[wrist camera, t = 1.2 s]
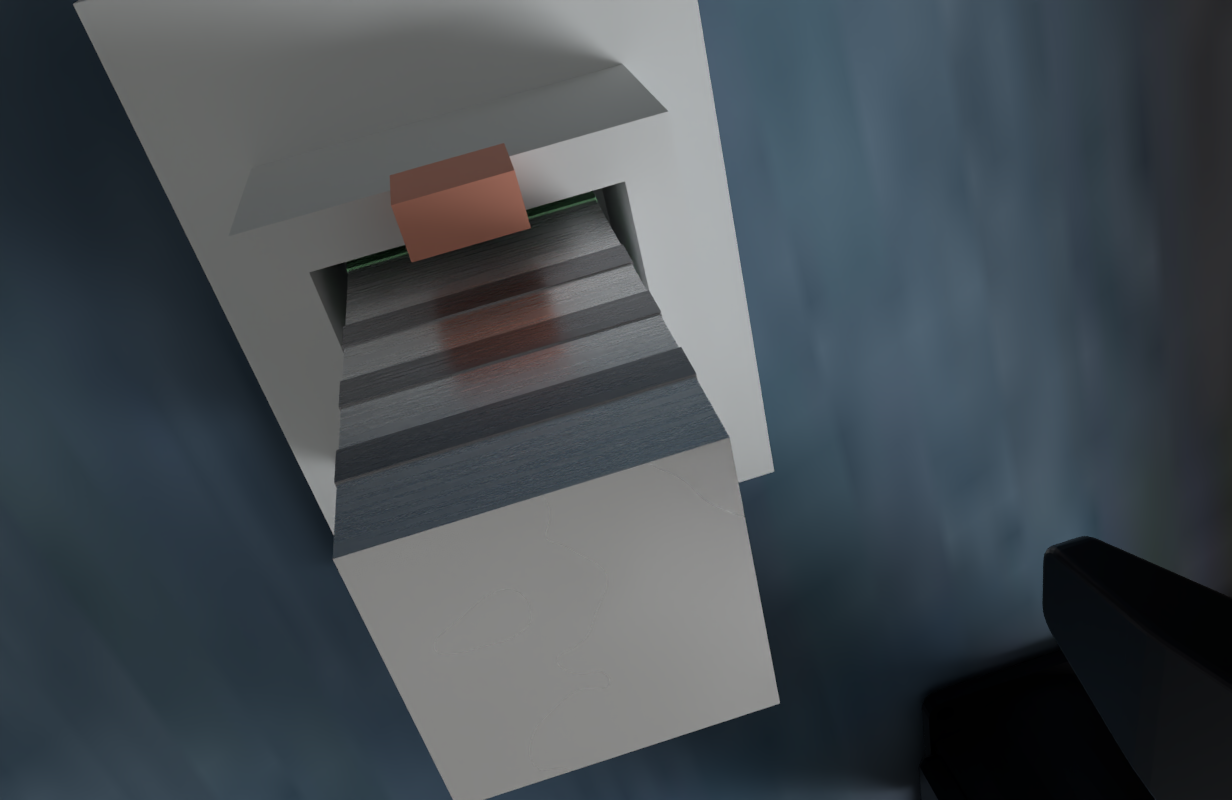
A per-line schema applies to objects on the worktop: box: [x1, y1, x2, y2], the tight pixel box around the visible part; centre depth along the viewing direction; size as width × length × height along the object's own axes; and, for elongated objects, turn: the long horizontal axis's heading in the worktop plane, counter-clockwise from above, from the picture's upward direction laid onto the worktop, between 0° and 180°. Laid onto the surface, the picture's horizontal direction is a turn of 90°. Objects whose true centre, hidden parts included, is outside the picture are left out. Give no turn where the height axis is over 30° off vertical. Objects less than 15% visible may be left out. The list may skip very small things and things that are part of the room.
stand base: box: [73, 0, 774, 535], centre depth 16 cm, size 9×12×5 cm
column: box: [333, 191, 780, 800], centre depth 14 cm, size 4×4×9 cm
